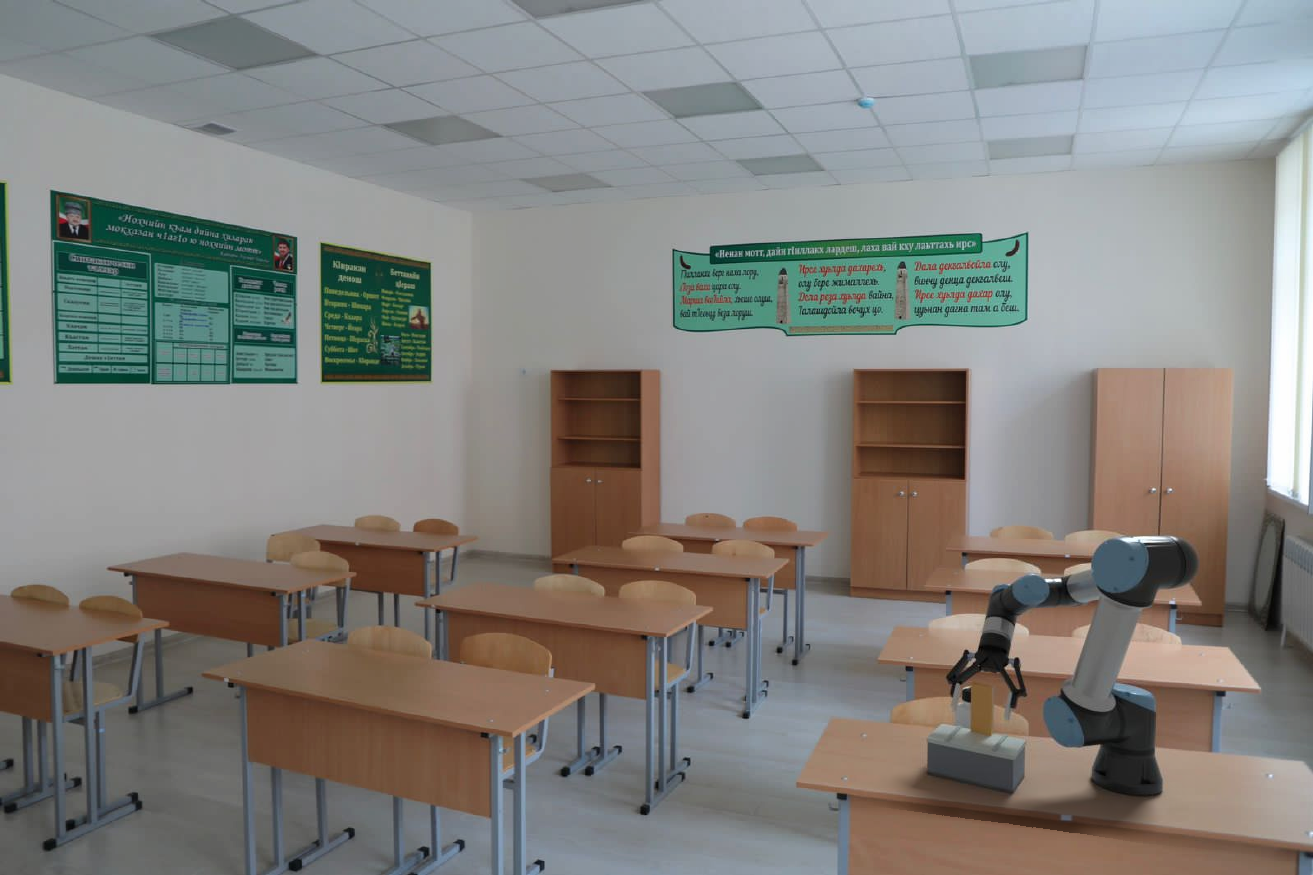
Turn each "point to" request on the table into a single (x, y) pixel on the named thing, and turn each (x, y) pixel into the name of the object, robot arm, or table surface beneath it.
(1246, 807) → the table surface
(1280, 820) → the table surface
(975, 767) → the tub
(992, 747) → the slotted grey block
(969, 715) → the medicine bottle
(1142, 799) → the table surface
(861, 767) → the table surface
